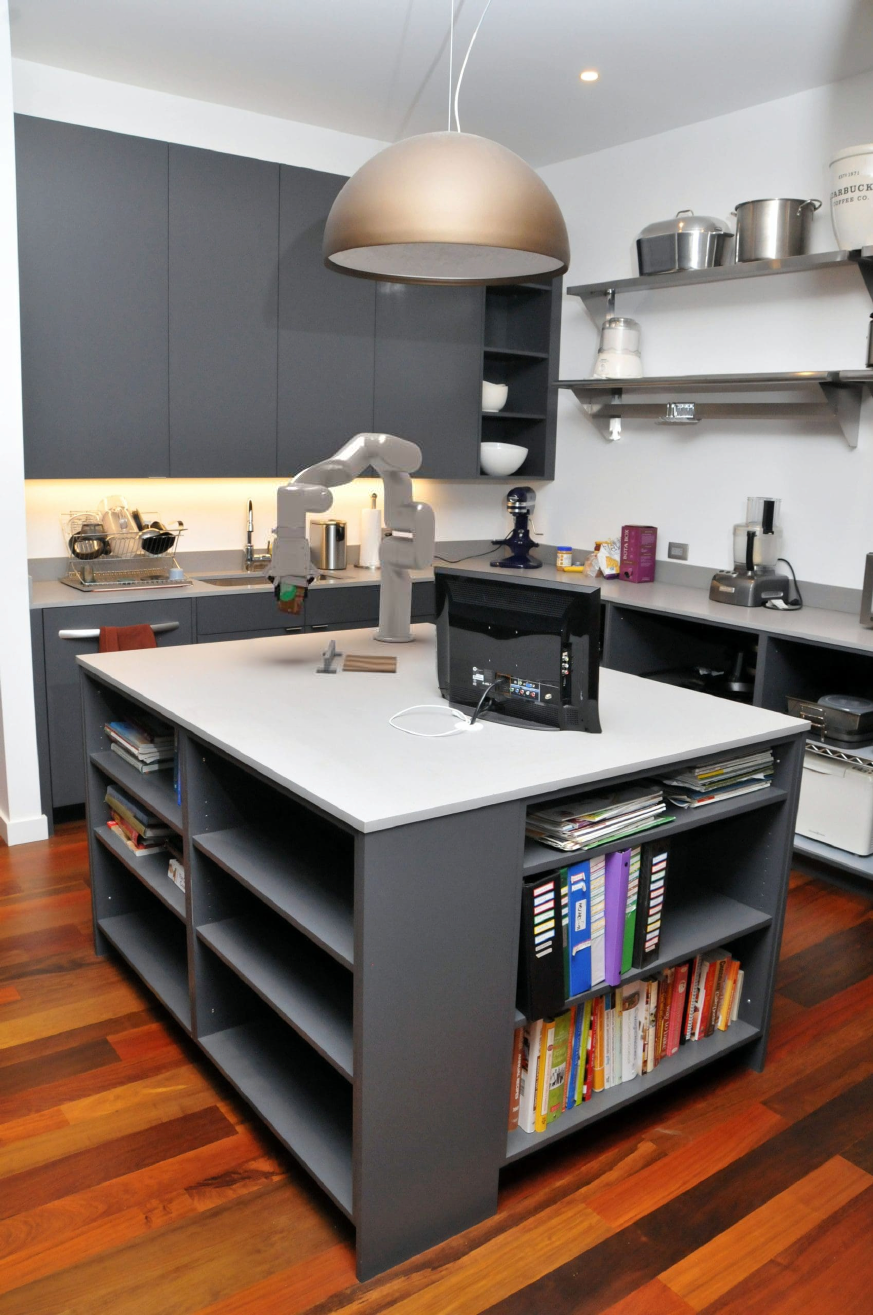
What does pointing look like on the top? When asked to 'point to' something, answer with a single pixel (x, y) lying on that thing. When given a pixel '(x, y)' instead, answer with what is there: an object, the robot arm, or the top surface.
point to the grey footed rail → (329, 659)
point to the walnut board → (370, 663)
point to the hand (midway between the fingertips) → (291, 600)
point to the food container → (291, 594)
